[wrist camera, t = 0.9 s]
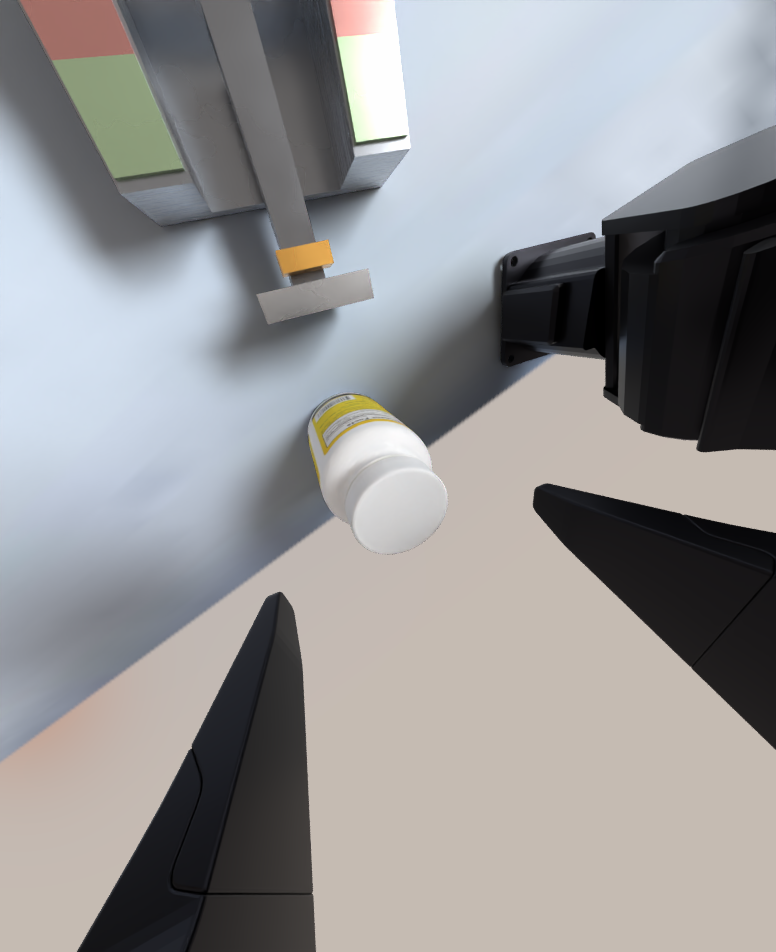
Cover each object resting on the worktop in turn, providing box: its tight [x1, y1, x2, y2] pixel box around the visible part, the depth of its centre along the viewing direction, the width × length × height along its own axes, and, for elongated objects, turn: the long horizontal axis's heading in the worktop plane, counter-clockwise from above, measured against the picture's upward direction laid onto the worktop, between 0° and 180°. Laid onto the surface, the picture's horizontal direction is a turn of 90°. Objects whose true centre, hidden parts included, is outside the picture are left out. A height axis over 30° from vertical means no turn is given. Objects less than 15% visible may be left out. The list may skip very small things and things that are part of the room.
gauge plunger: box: [200, 0, 374, 324], centre depth 10 cm, size 4×8×3 cm, turn 12°
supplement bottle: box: [308, 392, 448, 555], centre depth 15 cm, size 5×5×10 cm
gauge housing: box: [17, 0, 410, 227], centre depth 9 cm, size 10×7×4 cm
